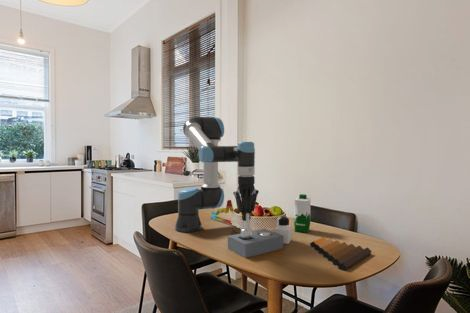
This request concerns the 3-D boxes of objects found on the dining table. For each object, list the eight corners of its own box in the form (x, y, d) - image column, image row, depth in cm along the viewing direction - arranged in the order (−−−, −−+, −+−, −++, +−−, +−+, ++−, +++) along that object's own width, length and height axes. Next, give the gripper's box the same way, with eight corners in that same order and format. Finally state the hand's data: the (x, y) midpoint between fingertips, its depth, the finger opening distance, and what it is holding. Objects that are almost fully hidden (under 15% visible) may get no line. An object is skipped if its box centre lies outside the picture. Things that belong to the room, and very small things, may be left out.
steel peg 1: (238, 239, 138) (238, 228, 138) (247, 237, 141) (247, 227, 141) (244, 242, 134) (244, 231, 134) (253, 240, 137) (253, 229, 137)
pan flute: (346, 272, 115) (371, 255, 133) (346, 264, 115) (371, 248, 133) (291, 255, 133) (320, 242, 151) (291, 248, 133) (320, 236, 151)
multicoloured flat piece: (210, 219, 197) (210, 196, 197) (214, 218, 199) (214, 196, 199) (240, 229, 174) (240, 203, 173) (244, 228, 176) (244, 202, 175)
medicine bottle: (291, 239, 154) (291, 216, 153) (288, 244, 147) (289, 219, 146) (277, 238, 156) (277, 215, 156) (274, 242, 149) (274, 218, 149)
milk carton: (311, 229, 173) (311, 194, 172) (308, 233, 164) (309, 197, 164) (295, 227, 176) (296, 193, 175) (292, 231, 168) (293, 196, 167)
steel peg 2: (257, 243, 144) (257, 233, 144) (265, 241, 147) (265, 231, 147) (264, 246, 140) (264, 235, 140) (272, 244, 143) (272, 234, 143)
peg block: (227, 248, 140) (227, 235, 140) (264, 240, 153) (264, 228, 152) (245, 258, 129) (245, 244, 129) (283, 248, 141) (283, 235, 141)
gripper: (239, 177, 130) (239, 231, 130) (262, 175, 137) (262, 227, 138) (229, 175, 136) (229, 227, 137) (252, 174, 143) (252, 223, 144)
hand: (246, 227), depth 137 cm, fingers closed
